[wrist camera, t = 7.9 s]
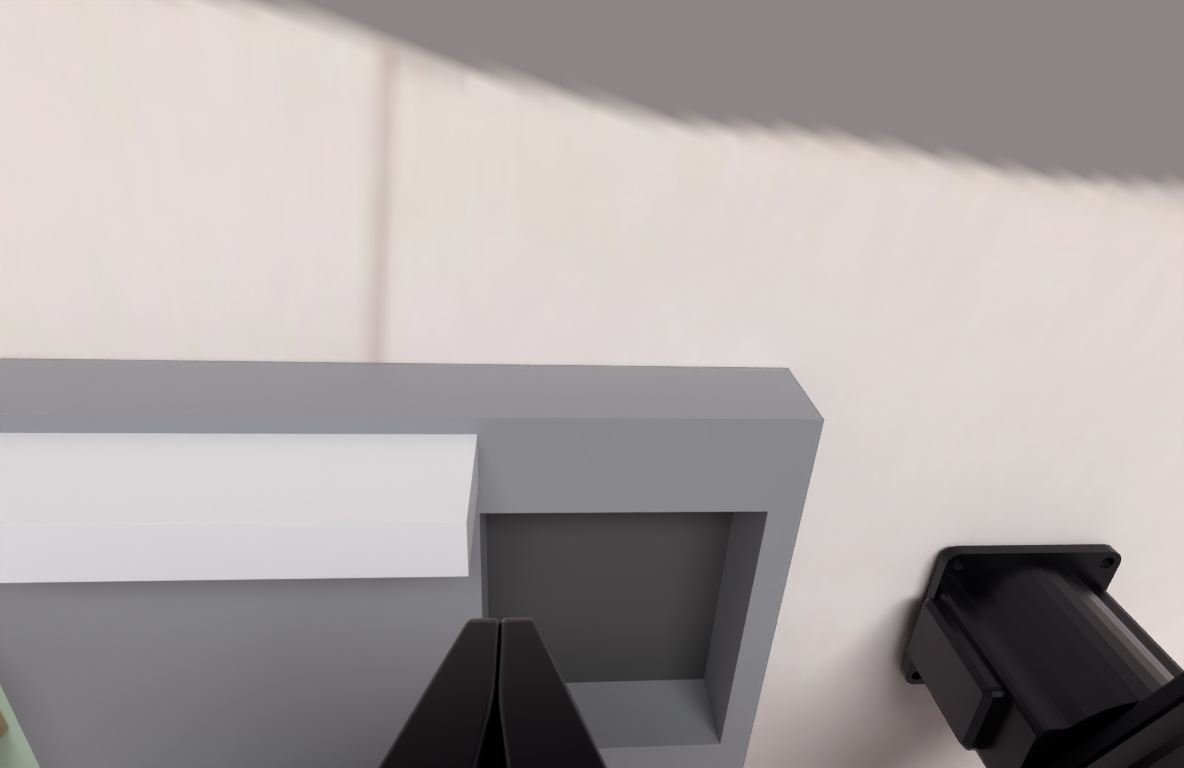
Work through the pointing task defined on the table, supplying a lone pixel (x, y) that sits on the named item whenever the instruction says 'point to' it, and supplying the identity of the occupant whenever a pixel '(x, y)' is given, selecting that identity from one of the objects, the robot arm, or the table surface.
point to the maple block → (3, 725)
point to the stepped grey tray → (384, 551)
